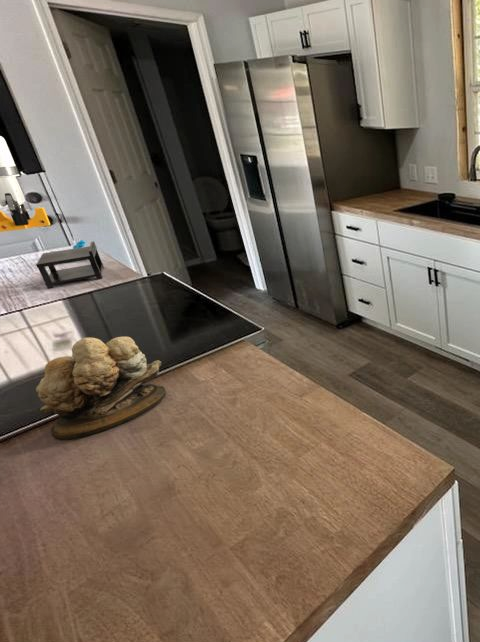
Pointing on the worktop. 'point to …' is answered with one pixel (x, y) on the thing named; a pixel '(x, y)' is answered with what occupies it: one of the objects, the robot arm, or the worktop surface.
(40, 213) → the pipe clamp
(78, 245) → the gear
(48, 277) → the rack
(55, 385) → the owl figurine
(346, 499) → the worktop surface
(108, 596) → the worktop surface
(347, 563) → the worktop surface
